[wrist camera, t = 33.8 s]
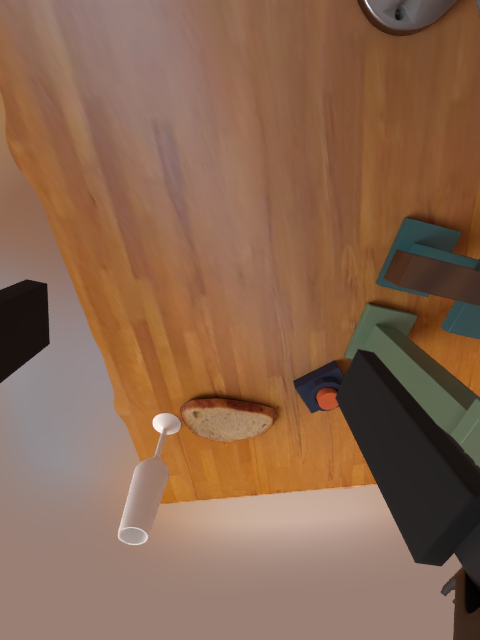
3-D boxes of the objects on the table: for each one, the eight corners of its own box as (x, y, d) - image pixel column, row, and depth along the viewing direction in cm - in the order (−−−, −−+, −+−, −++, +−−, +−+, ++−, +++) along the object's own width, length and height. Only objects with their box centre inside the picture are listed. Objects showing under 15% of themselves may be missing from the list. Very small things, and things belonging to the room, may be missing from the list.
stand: (339, 353, 60) (427, 489, 32) (362, 301, 55) (487, 407, 27) (391, 364, 61) (519, 503, 33) (418, 314, 56) (592, 428, 29)
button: (332, 383, 58) (335, 389, 56) (340, 398, 59) (343, 404, 57) (312, 393, 59) (314, 398, 57) (321, 407, 60) (324, 413, 58)
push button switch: (334, 360, 60) (342, 372, 56) (349, 386, 63) (357, 399, 59) (293, 381, 62) (297, 394, 58) (309, 405, 65) (313, 419, 61)
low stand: (370, 281, 53) (448, 332, 34) (399, 216, 49) (509, 230, 29) (428, 295, 54) (535, 352, 35) (461, 232, 50) (607, 257, 30)
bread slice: (282, 416, 66) (284, 428, 63) (224, 452, 71) (223, 465, 67) (232, 366, 61) (232, 377, 57) (173, 409, 65) (169, 421, 62)
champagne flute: (180, 436, 68) (153, 549, 46) (152, 433, 68) (111, 546, 46) (182, 414, 66) (154, 524, 44) (152, 411, 65) (110, 521, 43)
